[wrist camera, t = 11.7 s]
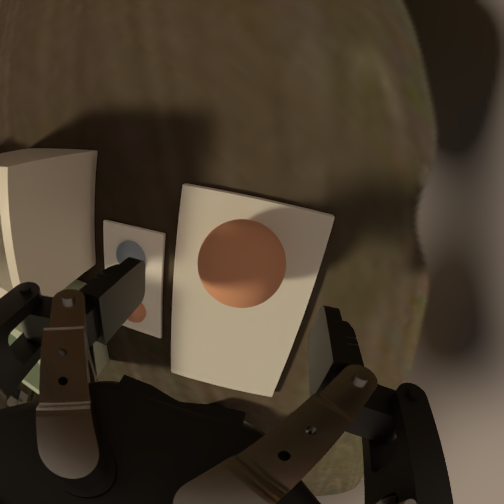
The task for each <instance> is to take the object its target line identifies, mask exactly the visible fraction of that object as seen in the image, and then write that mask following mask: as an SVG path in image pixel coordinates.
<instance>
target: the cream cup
mask: <svg viewBox="0 0 504 504" xmlns="http://www.w3.org/2000/svg"><path fill="white" fill-rule="evenodd" d="M97 153H98V151H96V150H80V149H55V148H27V149H21V150H16V151H10V152H5V153H0V298H1V297H3V296H4V295H5V294H6V293H8V292H9V291H10V290H12V289H13V288H14V287H15V286H17V285H19V284H21V283H24V282H34V283H36V284H38V286H39V287H40V292H41V295H43V296H49V297H54V296H55V294H57V293H58V292H60V291H62V290H63V289H64V288H65V287H67V286H68V285H69V284H70V283H72V282H73V281H74V280H76V279H77V278H78V277H79V276H81V275H82V274H83V273H85V272H86V271H87V270H89V269H90V268H91V267H93V266H94V265H95V264H96V253H95V179H96V164H97Z"/></svg>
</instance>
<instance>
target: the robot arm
mask: <svg viewBox="0 0 504 504" xmlns="http://www.w3.org/2000/svg"><path fill="white" fill-rule="evenodd" d="M145 269H146V265H145V262H144V261H143V260H139V259H136V258H132V257H128V258H127V259H125V260H124V261H123V262H121V263H120V264H116V265H113V266H110V267H108V268H106V269H105V270H104V271H102V272H101V274H99V275H97V276H96V278H93V279H92V280H91V281H90V282H88V283H87V284H86V285H85V286H83V287H82V288H81V289H80V290H75V289H66V290H62V291H60V292H58V293H57V294H55V296H54V297H49V296H43V295H41V292H40V287H39V286H38V284H36V283H34V282H24V283H21V284H19V285H17V286H15V287H14V288H13V289H12V290H10V291H9V292H8V293H6V294H5V295H4V296H3V297H1V298H0V504H321V503H320V502H319V501H318V500H317V499H316V497H315V496H314V495H313V494H312V493H311V491H310V490H309V489H308V488H307V486H306V485H305V484H304V483H303V481H302V480H301V479H303V478H304V477H305V476H306V475H307V473H308V472H309V471H310V470H311V469H312V468H313V467H314V466H315V465H316V464H317V463H318V462H319V461H320V460H321V459H322V458H323V457H324V455H325V454H326V453H327V452H328V451H329V450H330V449H331V448H332V446H333V445H334V444H335V443H336V442H337V440H338V439H339V438H340V437H341V436H342V434H343V433H344V432H345V431H346V432H349V433H352V434H355V435H358V436H361V437H362V444H363V460H364V485H365V504H453V499H452V493H451V487H450V481H449V476H448V471H447V467H446V462H445V458H444V454H443V450H442V446H441V442H440V438H439V435H438V431H437V427H436V424H435V421H434V417H433V414H432V411H431V408H430V405H429V402H428V399H427V396H426V394H425V392H424V391H423V390H422V389H421V388H420V387H418V386H417V385H415V384H412V383H403V384H401V385H400V386H399V387H398V388H397V390H396V391H395V390H392V389H390V388H387V387H384V386H381V385H379V384H378V380H377V377H376V376H375V374H374V373H373V372H372V371H371V370H370V369H368V368H366V367H364V364H363V360H362V356H361V353H360V349H359V346H358V342H357V339H356V335H355V332H354V329H353V328H352V327H351V325H350V324H349V323H348V322H346V321H342V318H341V314H340V310H339V309H338V308H333V307H328V306H324V305H322V306H321V308H320V310H319V313H318V315H317V318H316V320H315V323H314V325H313V328H312V330H311V333H310V336H309V340H308V360H309V383H310V397H309V398H308V399H307V400H306V401H305V402H304V403H303V404H302V405H301V406H299V407H298V408H297V409H296V410H295V411H294V412H292V413H291V414H290V415H289V416H288V417H287V418H285V419H284V420H283V421H282V422H281V423H279V424H278V425H277V426H276V427H274V428H273V429H272V430H271V431H269V432H268V433H267V434H264V433H263V432H262V431H261V430H259V429H258V428H256V427H255V426H253V425H251V424H249V423H247V422H245V421H244V417H245V412H242V411H237V410H233V409H228V408H224V407H220V406H216V405H208V404H195V403H184V402H179V401H177V400H175V399H173V398H172V397H170V396H168V395H166V394H165V393H163V392H161V391H160V390H158V389H157V388H155V387H153V386H152V385H149V384H147V383H144V382H141V381H139V380H136V379H134V378H131V377H129V376H126V375H124V376H123V378H122V379H121V381H120V382H115V381H100V382H98V377H97V370H96V362H95V354H94V347H93V344H94V343H95V342H96V341H97V342H99V343H102V344H104V345H106V344H107V343H108V342H109V340H110V339H111V338H112V337H113V336H114V334H115V333H116V332H117V331H118V330H119V328H120V327H121V326H122V325H123V324H124V322H125V321H126V320H127V319H128V318H129V317H130V315H131V314H132V313H133V312H134V311H135V310H136V308H137V307H138V306H139V305H140V304H141V302H142V301H143V298H144V295H145ZM20 323H21V326H22V329H23V333H22V334H21V335H20V336H19V337H18V338H17V339H16V340H15V341H14V342H13V343H12V344H11V345H9V342H8V338H9V335H10V333H11V332H12V331H13V330H14V329H15V328H16V327H17V326H18V325H19V324H20ZM39 360H40V378H39V399H37V400H34V401H30V402H27V403H23V404H19V405H15V406H11V407H7V400H8V399H9V398H10V396H11V395H12V394H13V392H14V391H15V390H16V388H17V387H18V386H19V384H20V383H21V382H22V381H23V379H24V378H25V377H26V376H27V374H28V373H29V372H30V371H31V369H32V368H33V367H34V366H35V364H36V363H37V362H38V361H39ZM6 407H7V408H6Z"/></svg>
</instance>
